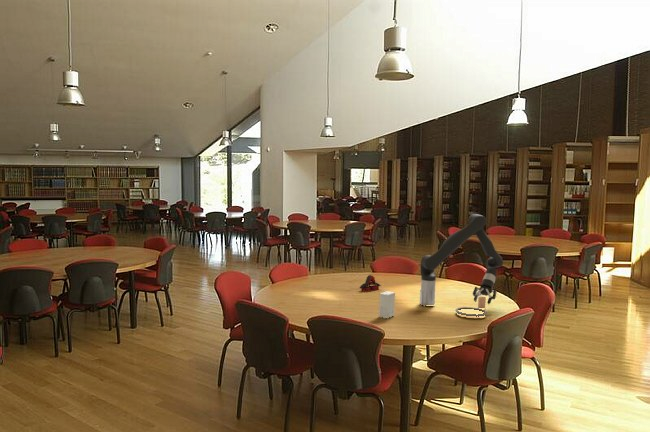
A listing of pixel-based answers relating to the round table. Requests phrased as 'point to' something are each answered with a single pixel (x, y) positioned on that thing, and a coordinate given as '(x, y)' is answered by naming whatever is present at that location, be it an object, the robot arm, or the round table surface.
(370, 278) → the logo sign
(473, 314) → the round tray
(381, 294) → the skincare box
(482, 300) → the clay spool
